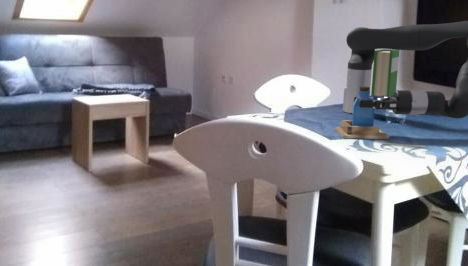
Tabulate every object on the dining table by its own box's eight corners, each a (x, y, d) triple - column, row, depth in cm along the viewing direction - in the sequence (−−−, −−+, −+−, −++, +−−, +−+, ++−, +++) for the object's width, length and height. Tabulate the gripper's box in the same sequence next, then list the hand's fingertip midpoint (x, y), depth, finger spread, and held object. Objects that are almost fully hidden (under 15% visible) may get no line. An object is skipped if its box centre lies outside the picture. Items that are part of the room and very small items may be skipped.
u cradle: (343, 138, 153) (343, 127, 152) (334, 129, 167) (335, 119, 166) (389, 139, 153) (390, 128, 152) (376, 129, 167) (377, 120, 166)
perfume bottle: (373, 127, 156) (375, 88, 153) (352, 126, 157) (354, 87, 154) (371, 123, 161) (374, 86, 159) (352, 122, 163) (354, 85, 160)
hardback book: (387, 108, 214) (392, 51, 209) (370, 106, 217) (374, 50, 212) (394, 103, 230) (399, 49, 225) (378, 101, 233) (382, 49, 228)
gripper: (402, 87, 164) (352, 87, 164) (418, 93, 150) (363, 92, 150) (401, 110, 165) (350, 110, 165) (416, 118, 151) (361, 117, 151)
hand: (356, 102), depth 158 cm, fingers closed on perfume bottle, 7 cm apart
